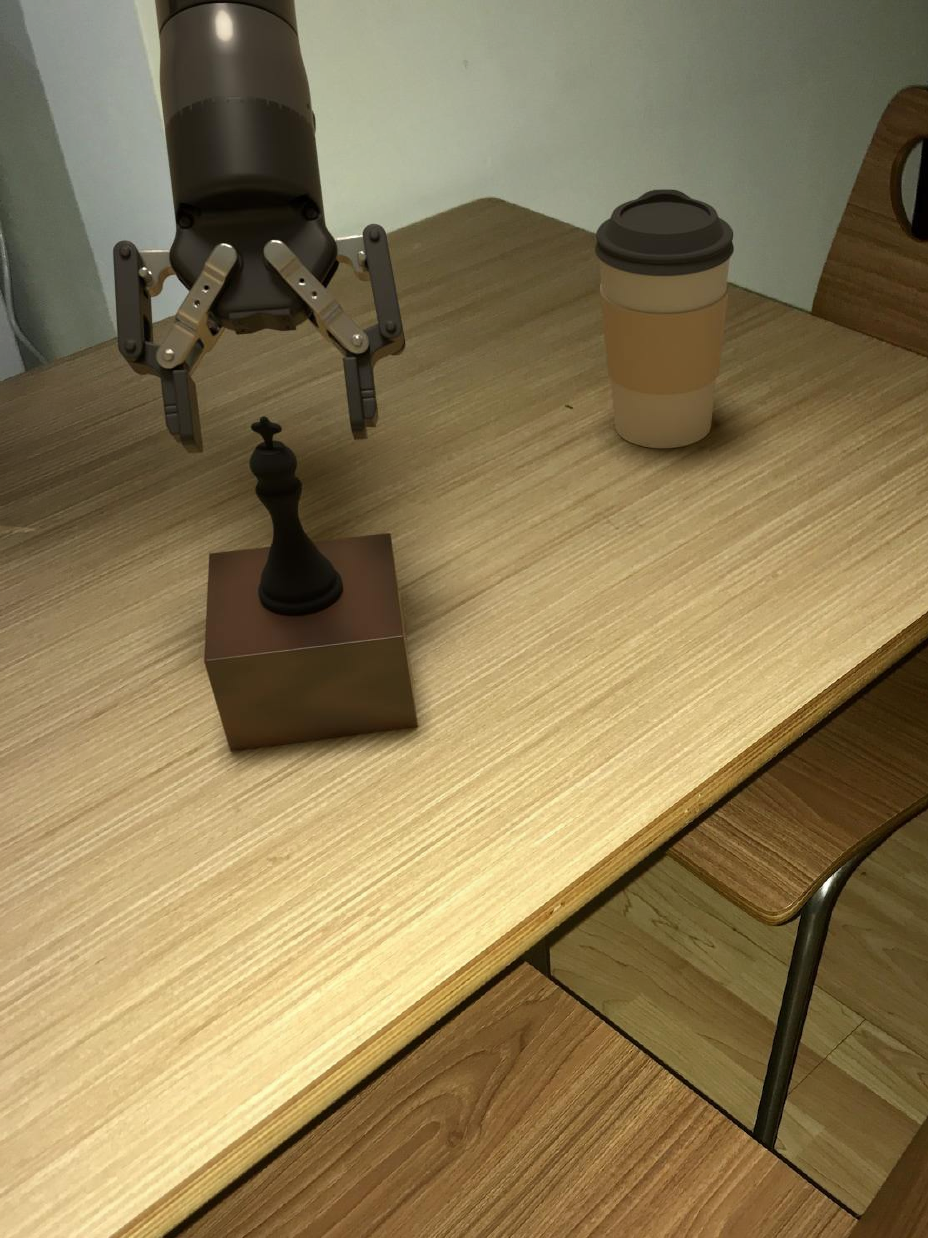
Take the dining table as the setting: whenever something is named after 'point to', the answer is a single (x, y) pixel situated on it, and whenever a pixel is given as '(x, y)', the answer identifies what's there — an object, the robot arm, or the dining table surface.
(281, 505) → the chess piece
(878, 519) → the dining table surface
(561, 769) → the dining table surface
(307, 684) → the brown metal block
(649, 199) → the coffee cup
